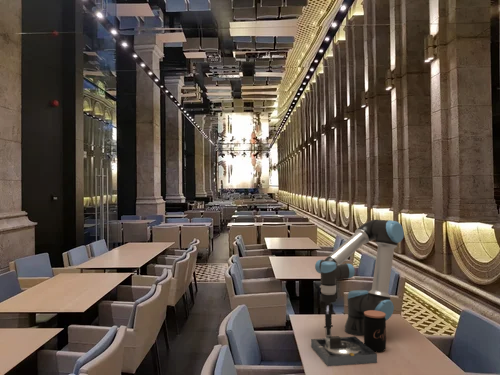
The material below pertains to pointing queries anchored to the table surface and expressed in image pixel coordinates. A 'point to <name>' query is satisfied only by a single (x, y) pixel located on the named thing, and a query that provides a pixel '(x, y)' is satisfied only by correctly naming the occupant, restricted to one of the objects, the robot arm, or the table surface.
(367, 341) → the coffee jar
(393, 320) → the table surface
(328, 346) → the dial
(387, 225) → the robot arm
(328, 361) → the grey square tray
